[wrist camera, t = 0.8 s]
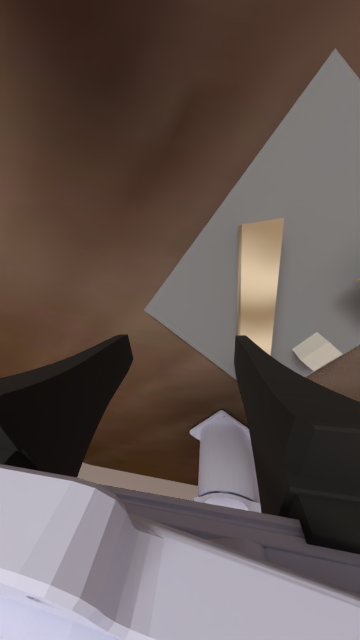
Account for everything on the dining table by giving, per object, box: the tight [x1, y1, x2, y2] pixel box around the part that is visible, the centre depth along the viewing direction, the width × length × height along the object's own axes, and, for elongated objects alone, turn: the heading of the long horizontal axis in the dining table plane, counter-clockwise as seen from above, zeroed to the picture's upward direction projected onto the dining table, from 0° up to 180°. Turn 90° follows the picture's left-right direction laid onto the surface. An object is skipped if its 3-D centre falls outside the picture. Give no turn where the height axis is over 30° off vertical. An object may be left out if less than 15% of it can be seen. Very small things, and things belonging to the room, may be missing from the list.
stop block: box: [292, 332, 342, 371], centre depth 18 cm, size 2×3×2 cm, turn 142°
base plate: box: [145, 49, 360, 380], centre depth 17 cm, size 20×23×1 cm
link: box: [237, 218, 284, 356], centre depth 17 cm, size 17×4×3 cm, turn 7°
